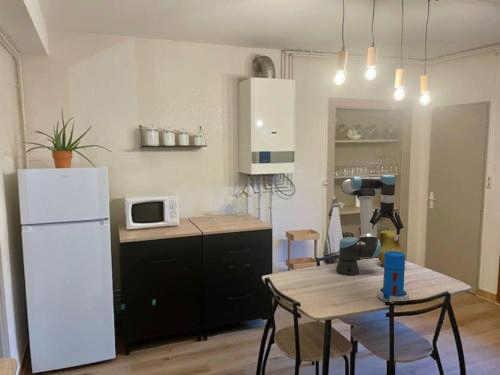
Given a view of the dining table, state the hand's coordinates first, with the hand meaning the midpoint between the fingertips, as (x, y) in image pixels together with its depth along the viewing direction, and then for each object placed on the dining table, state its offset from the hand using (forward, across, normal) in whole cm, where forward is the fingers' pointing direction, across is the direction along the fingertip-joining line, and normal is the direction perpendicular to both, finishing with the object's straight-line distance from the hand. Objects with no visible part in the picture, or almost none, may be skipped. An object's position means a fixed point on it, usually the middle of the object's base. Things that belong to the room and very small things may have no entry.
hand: (385, 237), depth 226 cm
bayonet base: (+32, +11, -7) cm, 34 cm away
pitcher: (+34, -22, +48) cm, 63 cm away
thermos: (+31, +11, -7) cm, 34 cm away
